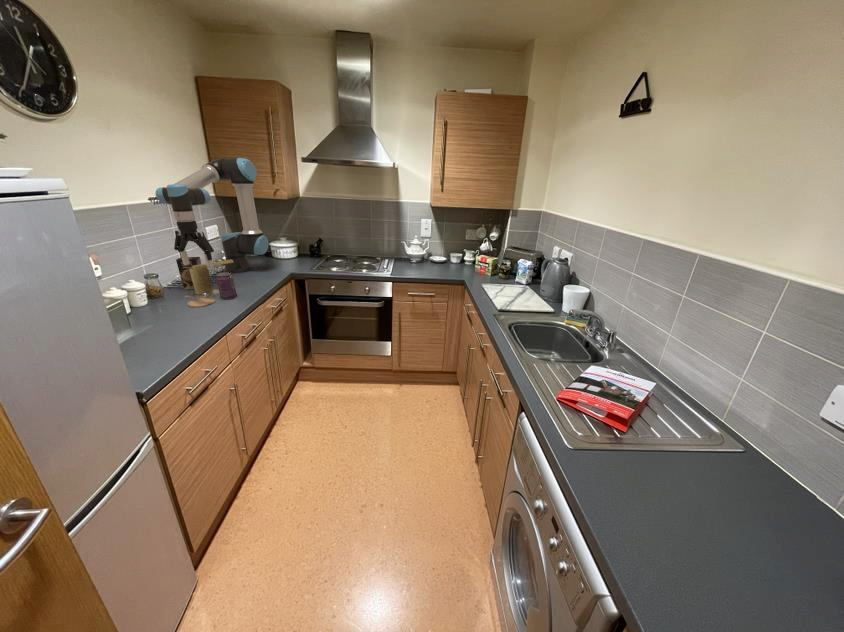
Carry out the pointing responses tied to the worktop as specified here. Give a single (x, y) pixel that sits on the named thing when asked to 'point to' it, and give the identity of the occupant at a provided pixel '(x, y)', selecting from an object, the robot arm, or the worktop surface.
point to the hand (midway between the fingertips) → (198, 265)
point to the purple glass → (226, 285)
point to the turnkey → (203, 276)
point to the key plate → (203, 294)
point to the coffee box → (187, 271)
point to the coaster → (201, 302)
